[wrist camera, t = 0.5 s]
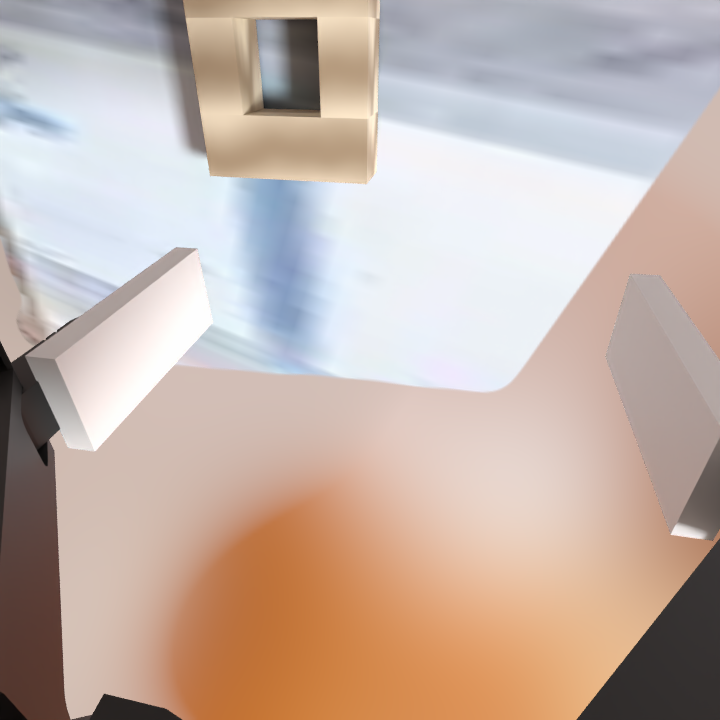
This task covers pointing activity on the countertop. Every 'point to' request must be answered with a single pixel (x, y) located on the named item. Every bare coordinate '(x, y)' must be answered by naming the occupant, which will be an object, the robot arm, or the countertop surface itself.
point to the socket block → (287, 126)
